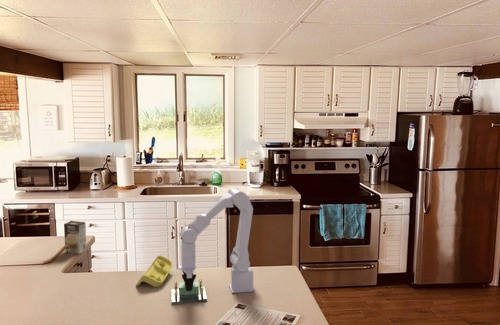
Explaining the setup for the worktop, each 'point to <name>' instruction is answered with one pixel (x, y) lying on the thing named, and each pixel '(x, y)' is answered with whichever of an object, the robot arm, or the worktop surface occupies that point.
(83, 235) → the coffee box
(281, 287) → the worktop surface
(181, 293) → the green rectangular block
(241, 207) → the robot arm
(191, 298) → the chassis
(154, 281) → the plastic component
